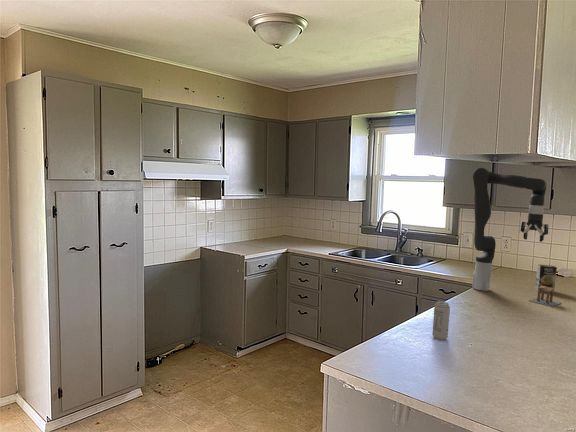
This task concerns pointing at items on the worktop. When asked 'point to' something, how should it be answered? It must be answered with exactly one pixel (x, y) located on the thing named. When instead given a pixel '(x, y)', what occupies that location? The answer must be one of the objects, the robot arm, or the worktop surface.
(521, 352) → the worktop surface
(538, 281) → the coffee box
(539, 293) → the stool
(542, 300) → the mat
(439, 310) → the energy drink can
